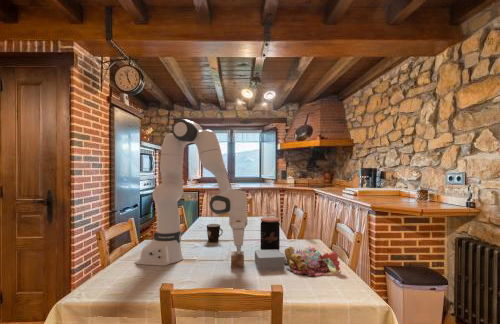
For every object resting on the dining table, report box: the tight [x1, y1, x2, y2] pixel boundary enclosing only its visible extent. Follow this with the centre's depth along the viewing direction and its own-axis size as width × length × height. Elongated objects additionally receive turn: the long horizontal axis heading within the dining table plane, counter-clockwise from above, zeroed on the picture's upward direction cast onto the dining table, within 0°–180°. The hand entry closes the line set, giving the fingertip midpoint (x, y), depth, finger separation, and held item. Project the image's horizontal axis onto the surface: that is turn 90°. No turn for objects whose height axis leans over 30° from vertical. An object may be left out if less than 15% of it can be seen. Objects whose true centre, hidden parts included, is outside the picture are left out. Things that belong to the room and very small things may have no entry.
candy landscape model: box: [284, 245, 342, 277], centre depth 132 cm, size 25×24×9 cm
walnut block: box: [230, 250, 245, 269], centre depth 134 cm, size 6×6×6 cm
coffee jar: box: [260, 216, 281, 250], centre depth 157 cm, size 11×11×18 cm
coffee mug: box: [206, 223, 224, 243], centre depth 176 cm, size 12×9×10 cm
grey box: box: [254, 249, 285, 272], centre depth 134 cm, size 12×12×6 cm
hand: (238, 250), depth 134 cm, fingers open, 8 cm apart
